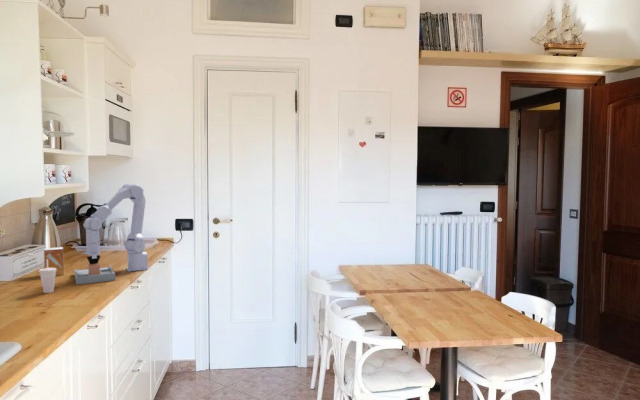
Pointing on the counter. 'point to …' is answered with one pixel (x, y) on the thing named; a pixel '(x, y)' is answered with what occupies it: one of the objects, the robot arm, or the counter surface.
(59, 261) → the small box
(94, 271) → the block
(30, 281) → the counter surface
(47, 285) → the smoothie
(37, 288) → the counter surface
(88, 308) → the counter surface
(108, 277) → the trap board
